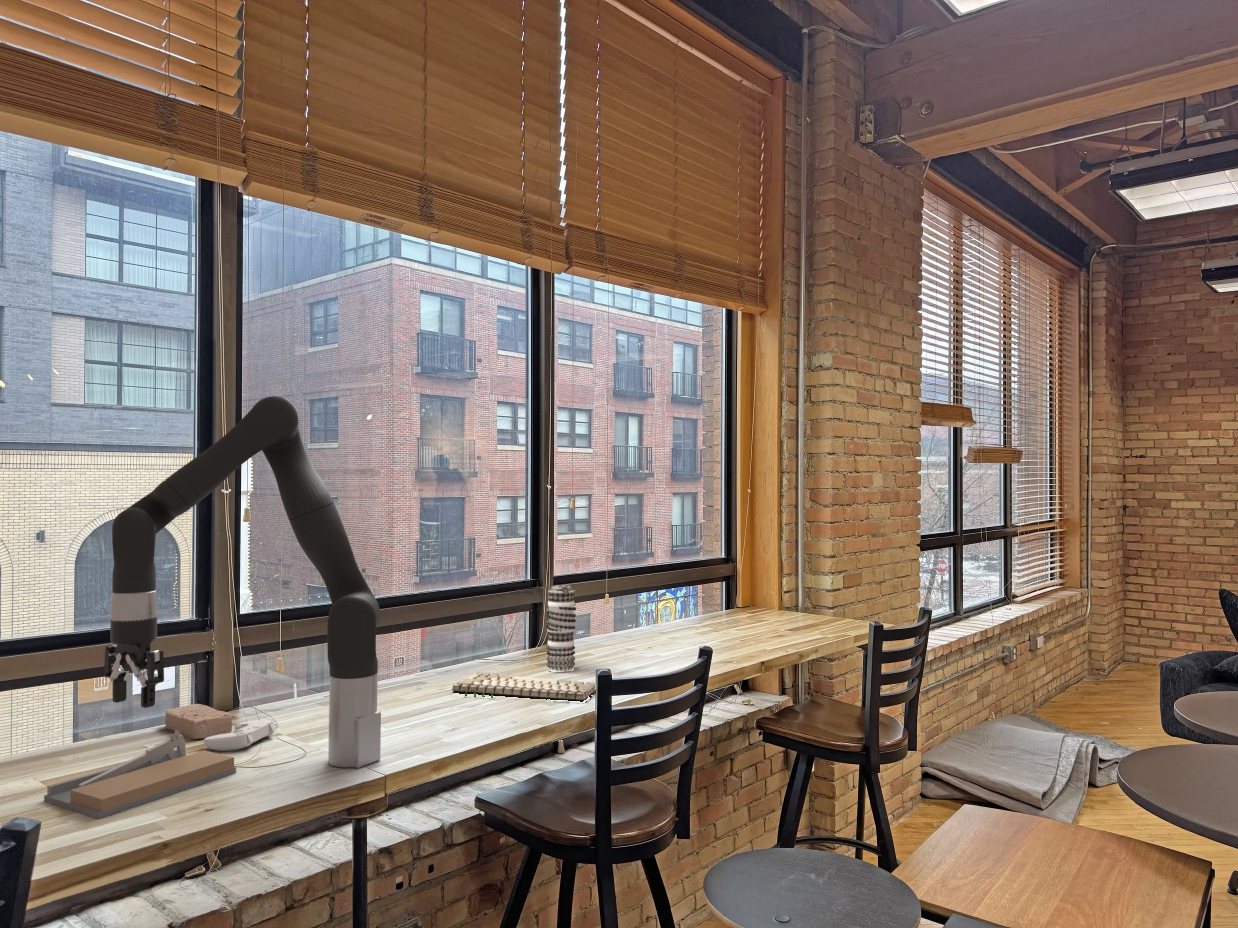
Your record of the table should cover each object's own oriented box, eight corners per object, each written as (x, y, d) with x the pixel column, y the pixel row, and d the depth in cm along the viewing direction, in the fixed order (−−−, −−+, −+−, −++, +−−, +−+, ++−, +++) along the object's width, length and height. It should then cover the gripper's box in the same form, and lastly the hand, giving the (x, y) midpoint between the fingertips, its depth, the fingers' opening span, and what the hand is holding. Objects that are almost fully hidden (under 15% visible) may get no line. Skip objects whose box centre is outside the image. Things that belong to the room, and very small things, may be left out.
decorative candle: (579, 667, 259) (580, 584, 260) (571, 673, 250) (571, 588, 251) (550, 665, 262) (551, 583, 262) (541, 672, 253) (542, 587, 253)
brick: (162, 728, 193) (163, 707, 193) (199, 720, 200) (200, 700, 200) (195, 743, 183) (196, 721, 183) (234, 734, 189) (234, 713, 189)
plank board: (236, 772, 163) (236, 756, 163) (98, 818, 140) (99, 800, 141) (182, 759, 171) (183, 744, 171) (44, 801, 148) (44, 783, 148)
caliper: (181, 760, 167) (182, 728, 167) (185, 761, 166) (186, 728, 167) (71, 794, 149) (71, 757, 149) (74, 795, 148) (75, 758, 148)
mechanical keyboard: (602, 689, 234) (602, 677, 234) (584, 707, 215) (584, 694, 215) (472, 682, 242) (472, 670, 242) (444, 699, 223) (444, 686, 223)
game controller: (240, 718, 190) (280, 711, 189) (243, 738, 190) (284, 731, 188) (197, 736, 176) (240, 729, 175) (200, 758, 176) (244, 750, 174)
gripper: (177, 615, 158) (176, 703, 158) (130, 610, 165) (129, 695, 165) (138, 621, 152) (137, 713, 151) (90, 616, 158) (89, 704, 158)
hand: (133, 703), depth 158 cm, fingers open, 8 cm apart
